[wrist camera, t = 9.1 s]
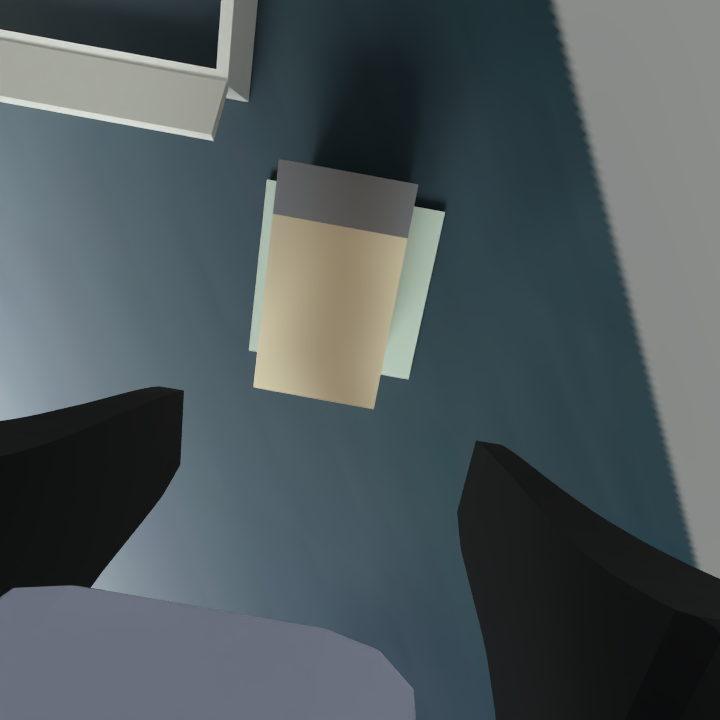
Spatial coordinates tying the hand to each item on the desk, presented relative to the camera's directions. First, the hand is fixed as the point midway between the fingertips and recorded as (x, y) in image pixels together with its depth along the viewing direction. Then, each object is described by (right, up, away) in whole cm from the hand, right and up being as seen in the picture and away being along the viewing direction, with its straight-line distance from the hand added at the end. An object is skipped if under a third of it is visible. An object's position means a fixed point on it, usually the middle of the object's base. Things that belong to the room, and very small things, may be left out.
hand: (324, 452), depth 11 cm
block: (0, +6, +8) cm, 10 cm away
